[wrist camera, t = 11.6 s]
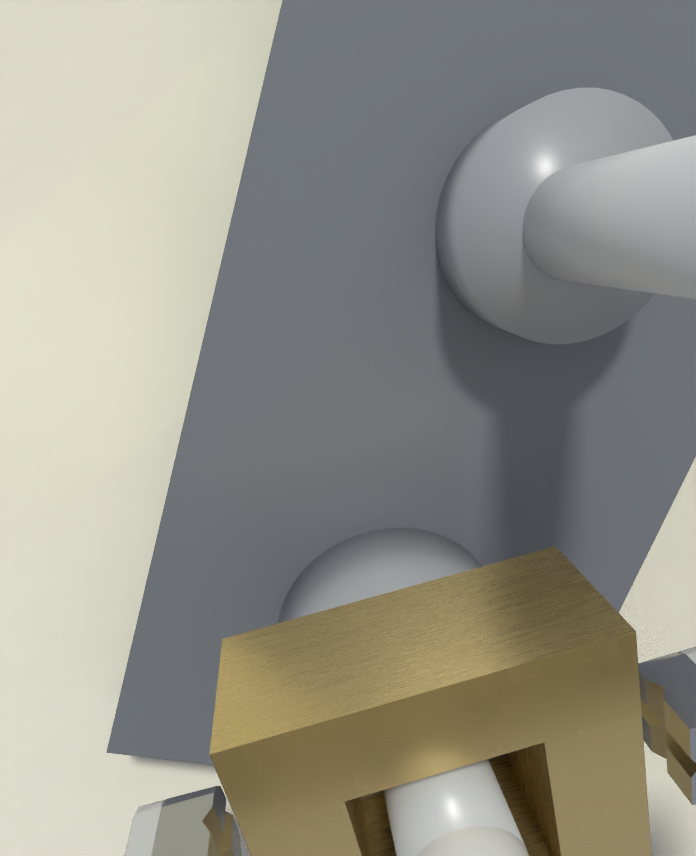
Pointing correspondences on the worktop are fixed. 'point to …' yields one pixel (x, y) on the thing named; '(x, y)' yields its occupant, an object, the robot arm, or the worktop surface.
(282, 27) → the mount board
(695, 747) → the robot arm
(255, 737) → the tan square ring
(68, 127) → the worktop surface
